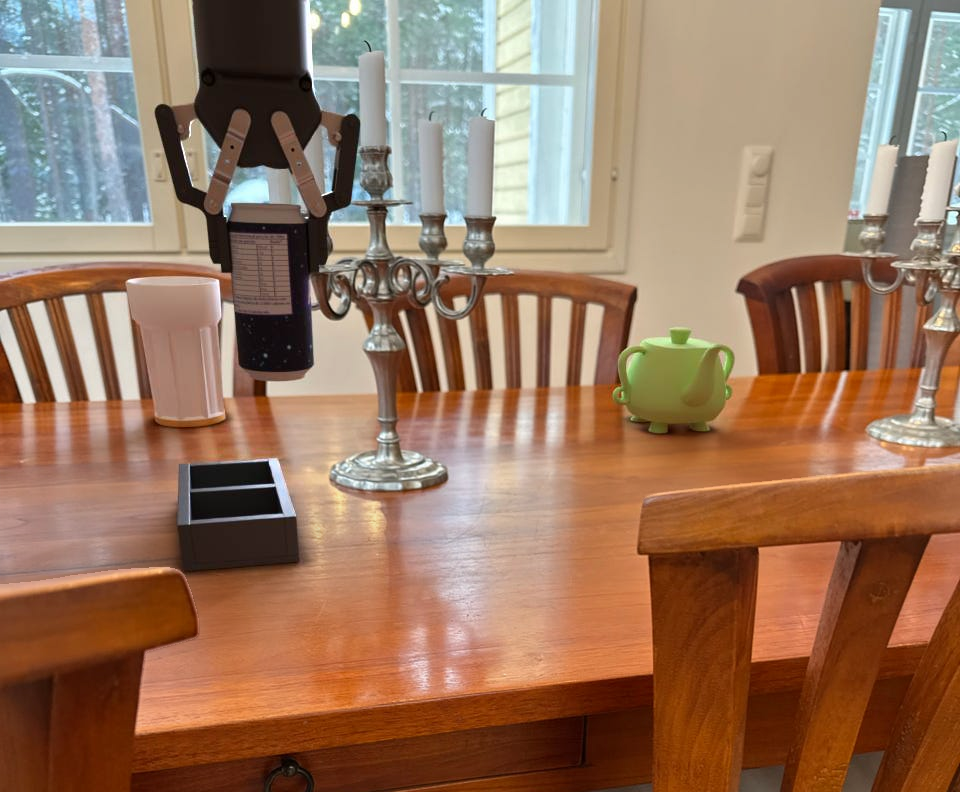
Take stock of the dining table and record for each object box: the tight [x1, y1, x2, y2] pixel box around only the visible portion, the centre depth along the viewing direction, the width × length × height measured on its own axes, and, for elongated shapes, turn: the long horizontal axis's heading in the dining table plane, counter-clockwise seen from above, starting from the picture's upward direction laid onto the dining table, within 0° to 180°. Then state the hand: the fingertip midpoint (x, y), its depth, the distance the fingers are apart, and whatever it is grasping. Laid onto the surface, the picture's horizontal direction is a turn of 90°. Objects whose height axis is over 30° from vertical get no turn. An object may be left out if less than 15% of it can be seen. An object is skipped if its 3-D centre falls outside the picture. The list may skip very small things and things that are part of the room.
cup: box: [125, 275, 226, 428], centre depth 116 cm, size 11×11×17 cm
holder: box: [176, 457, 301, 573], centre depth 82 cm, size 10×18×4 cm, turn 16°
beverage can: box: [227, 202, 315, 382], centre depth 66 cm, size 6×6×12 cm
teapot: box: [612, 327, 736, 434], centre depth 119 cm, size 16×14×13 cm
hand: (269, 271), depth 66 cm, fingers closed on beverage can, 5 cm apart
